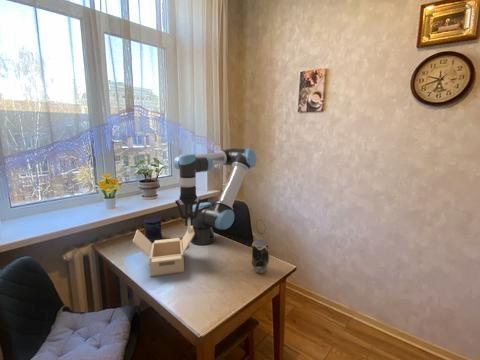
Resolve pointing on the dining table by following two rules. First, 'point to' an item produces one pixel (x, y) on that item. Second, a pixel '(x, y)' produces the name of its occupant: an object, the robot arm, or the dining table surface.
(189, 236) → the flap
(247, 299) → the dining table surface
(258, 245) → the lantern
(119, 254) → the dining table surface
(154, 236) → the dark blue barrel
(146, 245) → the flap
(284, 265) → the dining table surface
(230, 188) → the robot arm
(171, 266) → the carton
